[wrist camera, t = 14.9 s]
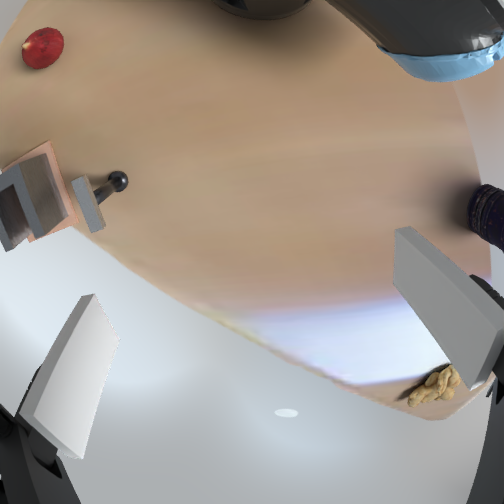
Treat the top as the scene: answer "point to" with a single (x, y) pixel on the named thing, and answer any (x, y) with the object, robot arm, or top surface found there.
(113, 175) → the post stand
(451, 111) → the top surface
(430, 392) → the ginger root
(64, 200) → the tile
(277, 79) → the top surface
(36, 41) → the onion
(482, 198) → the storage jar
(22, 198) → the c link
